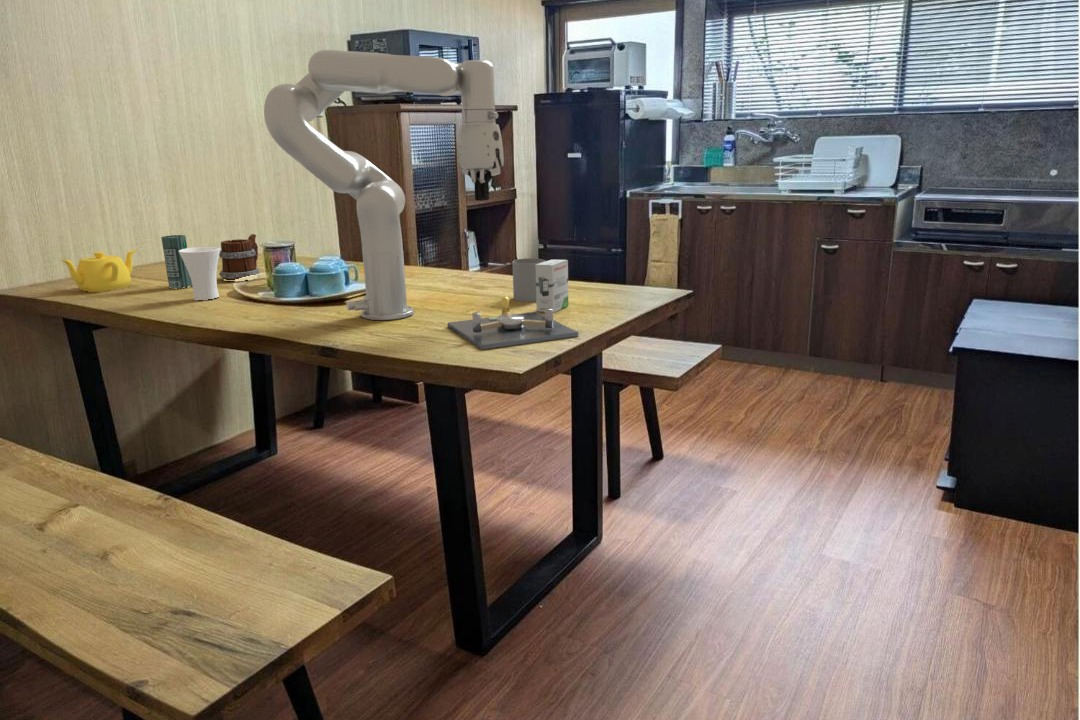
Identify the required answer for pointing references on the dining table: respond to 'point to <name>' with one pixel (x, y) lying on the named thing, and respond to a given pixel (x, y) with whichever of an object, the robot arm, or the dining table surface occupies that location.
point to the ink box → (552, 285)
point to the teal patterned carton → (175, 261)
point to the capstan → (511, 319)
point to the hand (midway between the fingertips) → (482, 200)
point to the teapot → (101, 272)
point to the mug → (239, 258)
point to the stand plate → (511, 332)
